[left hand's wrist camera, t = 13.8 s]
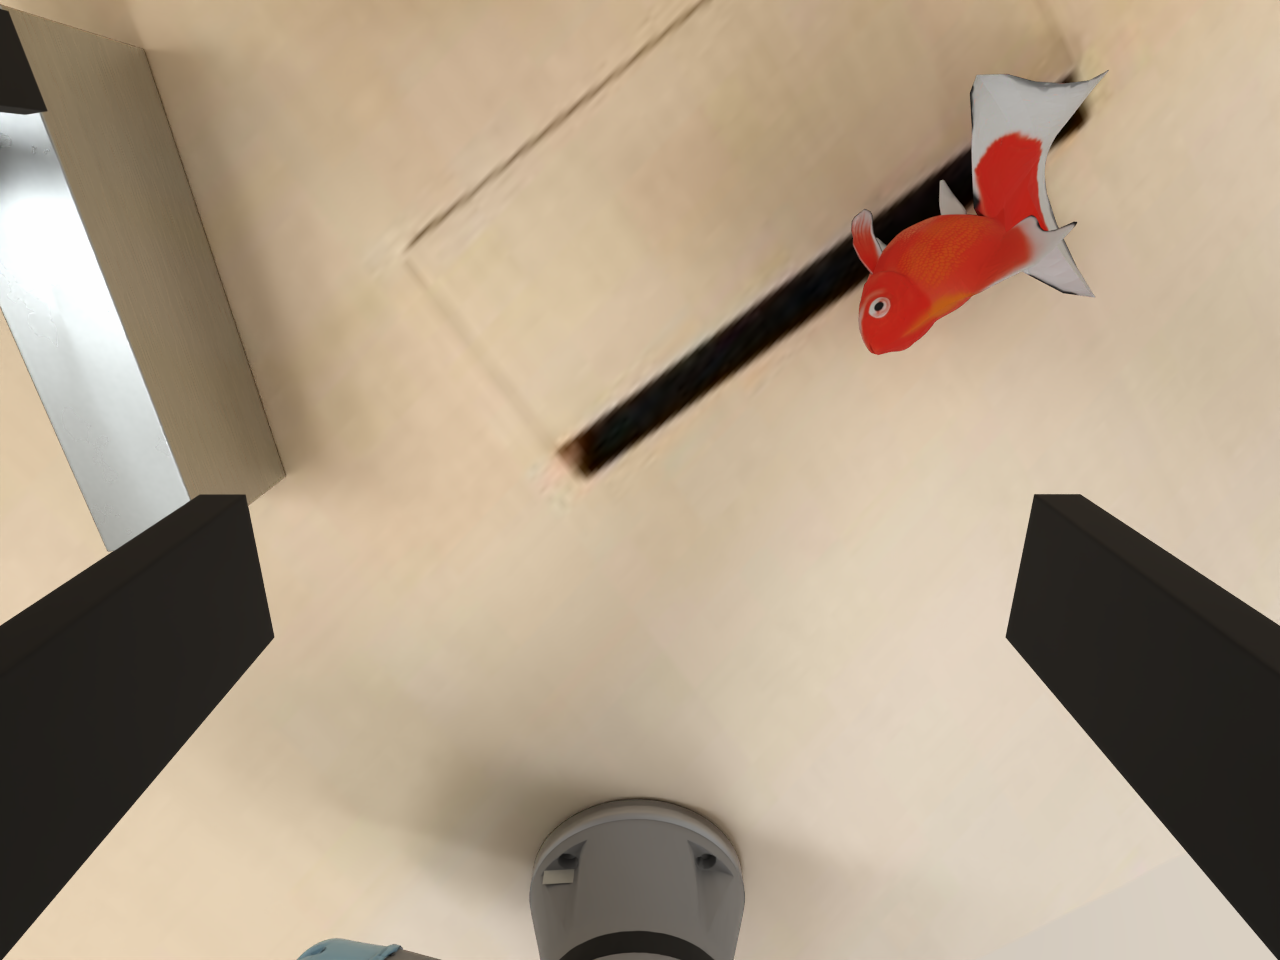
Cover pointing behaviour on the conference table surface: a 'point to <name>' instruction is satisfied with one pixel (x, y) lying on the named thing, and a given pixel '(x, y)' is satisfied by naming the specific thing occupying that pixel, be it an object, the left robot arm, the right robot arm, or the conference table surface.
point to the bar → (121, 291)
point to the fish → (976, 219)
